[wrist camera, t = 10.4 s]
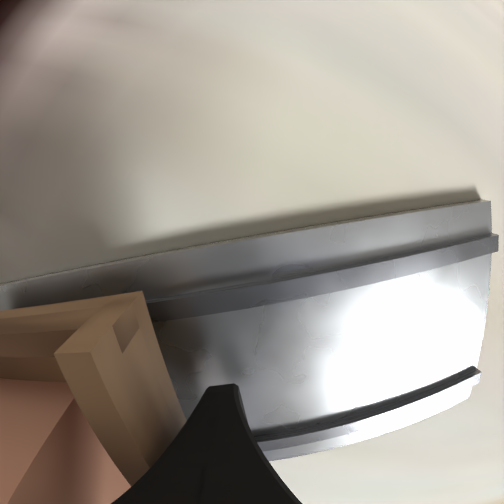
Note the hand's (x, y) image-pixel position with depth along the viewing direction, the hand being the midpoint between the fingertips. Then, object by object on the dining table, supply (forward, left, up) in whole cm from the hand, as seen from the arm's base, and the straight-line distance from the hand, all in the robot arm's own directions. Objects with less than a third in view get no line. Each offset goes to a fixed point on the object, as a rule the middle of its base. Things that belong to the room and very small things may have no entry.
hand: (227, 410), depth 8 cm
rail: (0, +1, -2) cm, 2 cm away
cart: (0, +5, -2) cm, 6 cm away
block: (0, +5, +1) cm, 5 cm away
